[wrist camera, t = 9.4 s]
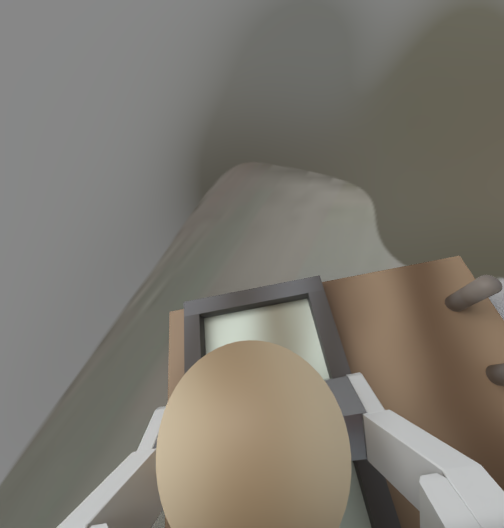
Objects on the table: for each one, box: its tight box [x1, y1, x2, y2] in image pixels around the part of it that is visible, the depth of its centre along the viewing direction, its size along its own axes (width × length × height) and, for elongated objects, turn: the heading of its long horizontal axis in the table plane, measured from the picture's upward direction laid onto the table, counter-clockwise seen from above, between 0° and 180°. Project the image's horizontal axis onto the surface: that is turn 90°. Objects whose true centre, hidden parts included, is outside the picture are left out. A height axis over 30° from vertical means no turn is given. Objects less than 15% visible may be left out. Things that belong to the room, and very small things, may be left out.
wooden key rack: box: [165, 256, 504, 528], centre depth 12 cm, size 20×14×4 cm
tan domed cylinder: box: [156, 340, 351, 528], centre depth 9 cm, size 5×5×8 cm
